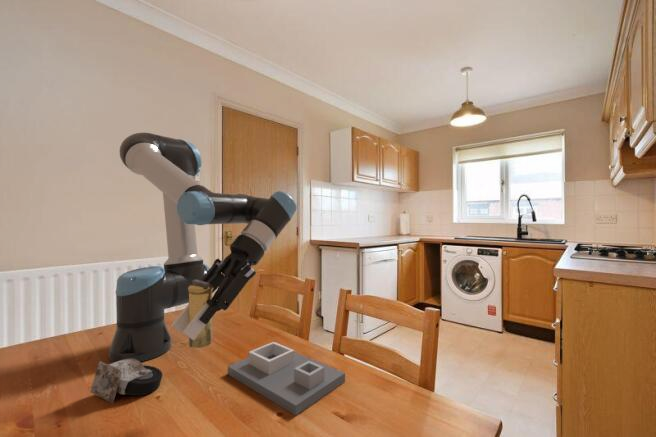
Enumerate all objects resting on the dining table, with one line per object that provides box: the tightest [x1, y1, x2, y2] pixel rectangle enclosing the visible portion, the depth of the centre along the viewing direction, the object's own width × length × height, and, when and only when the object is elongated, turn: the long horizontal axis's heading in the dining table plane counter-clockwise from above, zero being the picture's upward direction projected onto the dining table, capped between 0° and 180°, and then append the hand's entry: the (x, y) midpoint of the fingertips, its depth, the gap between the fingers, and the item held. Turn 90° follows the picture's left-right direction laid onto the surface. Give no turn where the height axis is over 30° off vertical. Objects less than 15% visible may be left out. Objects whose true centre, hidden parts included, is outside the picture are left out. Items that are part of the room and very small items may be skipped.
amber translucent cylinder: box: [188, 280, 213, 349], centre depth 63 cm, size 5×5×13 cm
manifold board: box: [227, 341, 346, 416], centre depth 73 cm, size 24×16×5 cm, turn 50°
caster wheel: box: [90, 359, 163, 404], centre depth 68 cm, size 7×11×10 cm
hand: (182, 332), depth 60 cm, fingers closed on amber translucent cylinder, 4 cm apart
